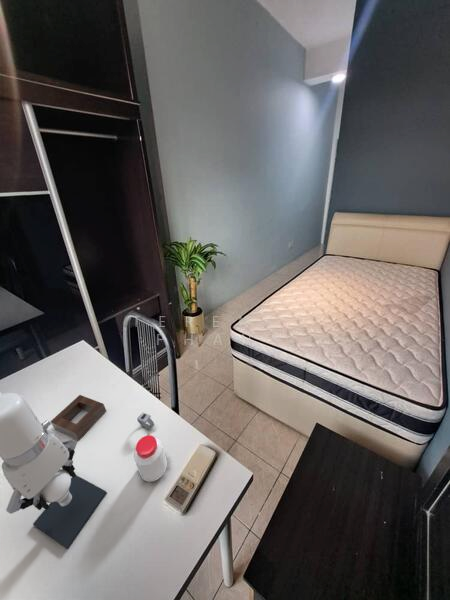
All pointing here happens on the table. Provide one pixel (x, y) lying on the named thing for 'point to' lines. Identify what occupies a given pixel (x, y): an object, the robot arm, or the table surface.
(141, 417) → the wristwatch
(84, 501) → the mat
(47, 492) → the lightbulb
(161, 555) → the table surface
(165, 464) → the pill bottle
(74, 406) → the socket block
